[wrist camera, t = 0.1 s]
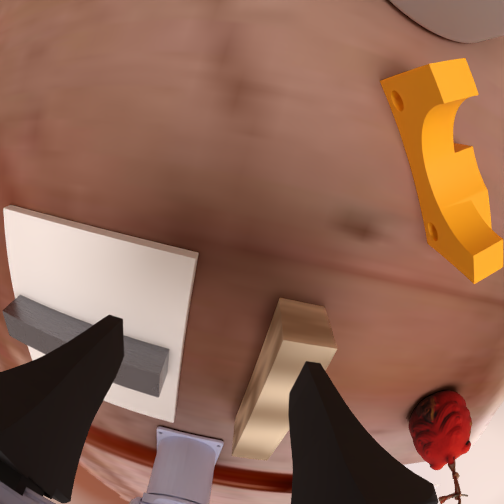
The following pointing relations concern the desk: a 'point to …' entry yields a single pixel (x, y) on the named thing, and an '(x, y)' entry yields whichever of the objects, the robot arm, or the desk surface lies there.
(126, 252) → the stand
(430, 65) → the pipe clamp
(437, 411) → the red clay folk toy
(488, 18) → the cylinder vase
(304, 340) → the oak bar
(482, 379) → the desk surface
